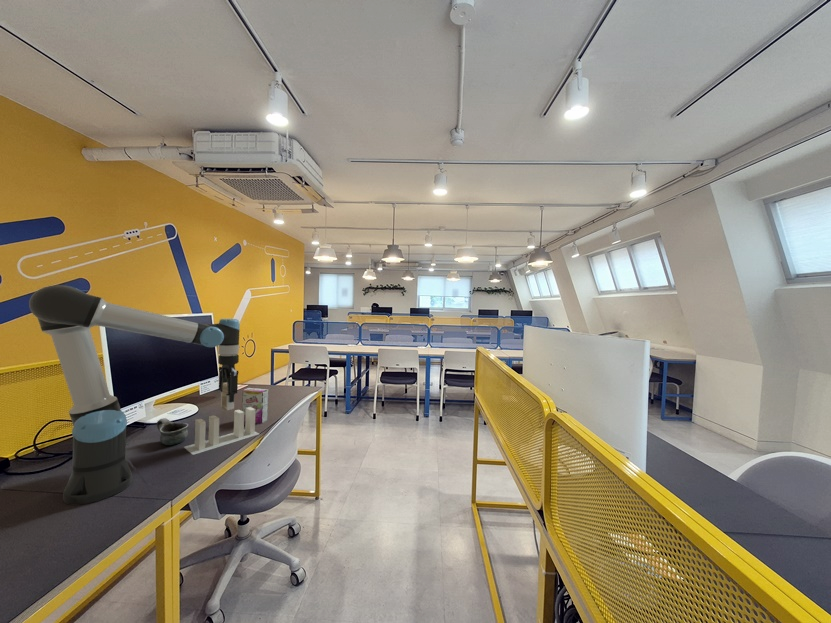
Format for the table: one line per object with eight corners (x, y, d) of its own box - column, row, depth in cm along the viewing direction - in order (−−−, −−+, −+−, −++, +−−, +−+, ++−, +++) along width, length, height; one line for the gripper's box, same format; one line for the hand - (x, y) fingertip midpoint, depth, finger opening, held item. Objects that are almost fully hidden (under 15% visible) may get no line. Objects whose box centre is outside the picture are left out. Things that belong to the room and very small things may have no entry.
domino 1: (199, 450, 123) (200, 423, 123) (194, 446, 126) (195, 419, 126) (205, 448, 125) (205, 421, 125) (200, 444, 128) (200, 418, 128)
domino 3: (238, 438, 135) (239, 413, 135) (233, 434, 138) (234, 410, 138) (243, 436, 137) (244, 412, 137) (238, 433, 140) (238, 409, 140)
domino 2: (213, 445, 127) (214, 419, 127) (208, 442, 130) (209, 416, 130) (218, 444, 129) (219, 418, 129) (213, 440, 132) (214, 415, 132)
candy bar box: (240, 422, 153) (241, 390, 153) (247, 418, 158) (248, 387, 158) (262, 424, 152) (263, 391, 152) (267, 420, 157) (268, 388, 157)
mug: (176, 449, 124) (176, 424, 124) (145, 447, 124) (145, 423, 124) (193, 438, 134) (194, 416, 134) (164, 437, 134) (165, 414, 134)
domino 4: (250, 434, 140) (251, 410, 139) (245, 431, 142) (245, 407, 142) (254, 433, 141) (255, 409, 141) (249, 430, 144) (250, 406, 144)
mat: (192, 455, 119) (192, 454, 119) (183, 448, 125) (183, 447, 125) (259, 434, 140) (259, 433, 140) (249, 428, 146) (249, 428, 146)
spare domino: (226, 410, 131) (227, 384, 131) (221, 407, 134) (222, 382, 134) (231, 409, 133) (232, 384, 132) (226, 406, 136) (227, 381, 135)
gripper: (247, 356, 131) (246, 410, 131) (228, 351, 141) (227, 401, 142) (228, 358, 125) (227, 415, 125) (210, 352, 135) (209, 405, 136)
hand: (227, 407), depth 134 cm, fingers closed on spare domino, 5 cm apart
